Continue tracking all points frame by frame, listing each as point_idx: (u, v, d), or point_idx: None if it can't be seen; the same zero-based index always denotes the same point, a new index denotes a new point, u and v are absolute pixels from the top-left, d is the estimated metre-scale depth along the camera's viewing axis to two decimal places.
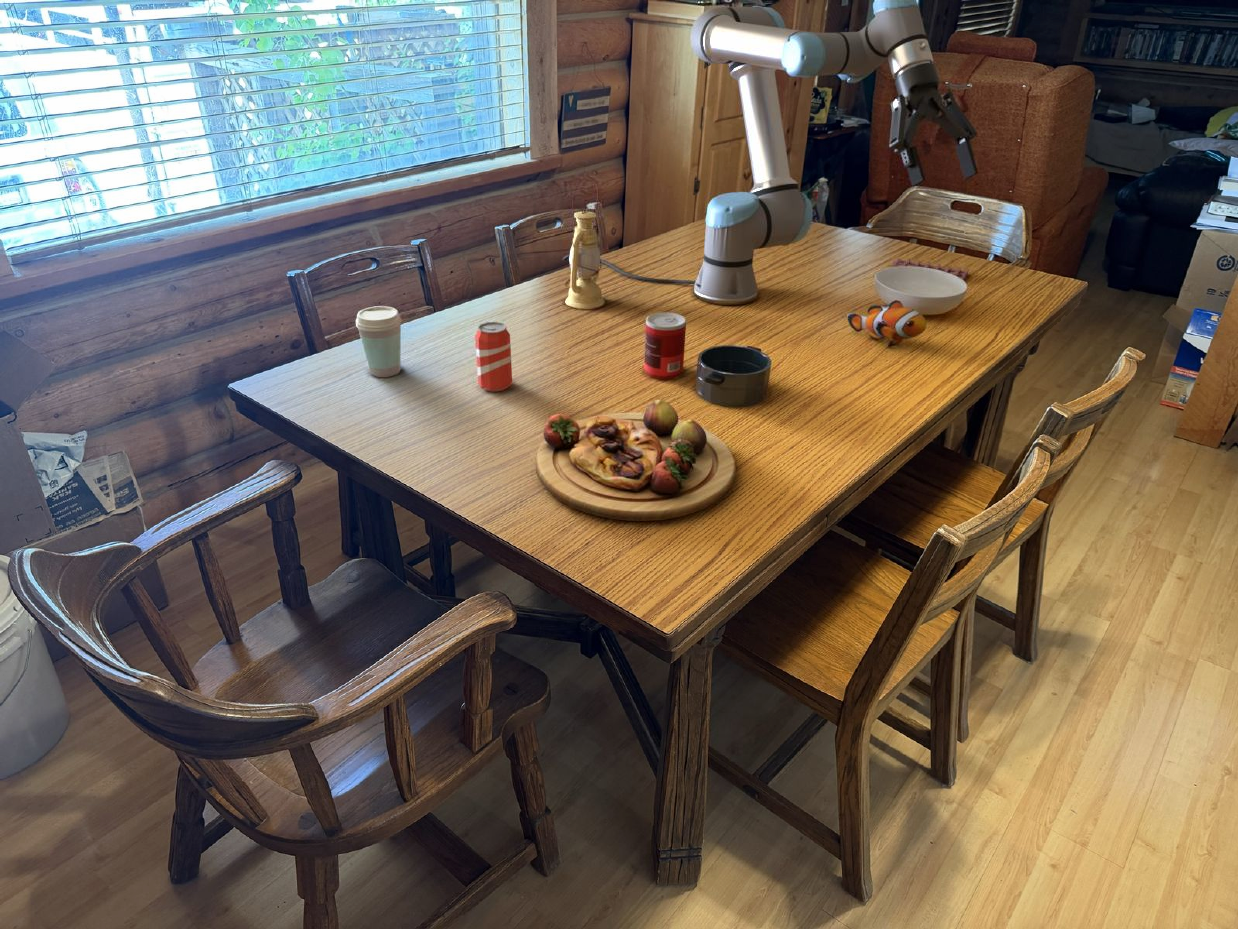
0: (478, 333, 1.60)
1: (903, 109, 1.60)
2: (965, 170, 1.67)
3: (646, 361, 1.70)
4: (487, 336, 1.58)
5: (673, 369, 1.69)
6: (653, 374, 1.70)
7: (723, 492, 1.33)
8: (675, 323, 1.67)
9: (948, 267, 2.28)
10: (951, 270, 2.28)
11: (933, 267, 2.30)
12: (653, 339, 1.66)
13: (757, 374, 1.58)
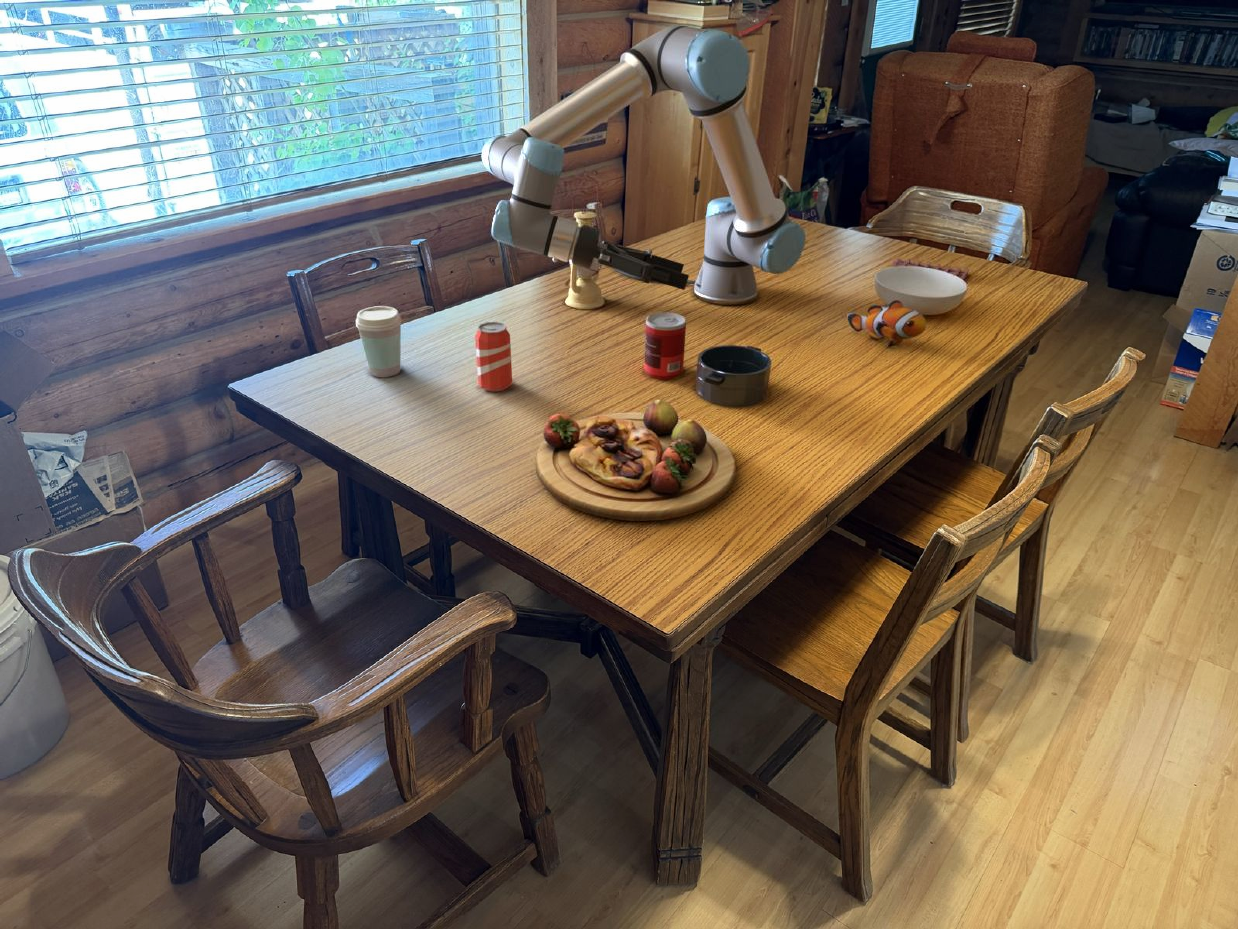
0: (478, 333, 1.60)
1: None
2: None
3: (646, 361, 1.70)
4: (487, 336, 1.58)
5: (673, 369, 1.69)
6: (653, 374, 1.70)
7: (723, 492, 1.33)
8: (675, 323, 1.67)
9: (948, 267, 2.28)
10: (951, 270, 2.28)
11: (933, 267, 2.30)
12: (653, 339, 1.66)
13: (757, 374, 1.58)
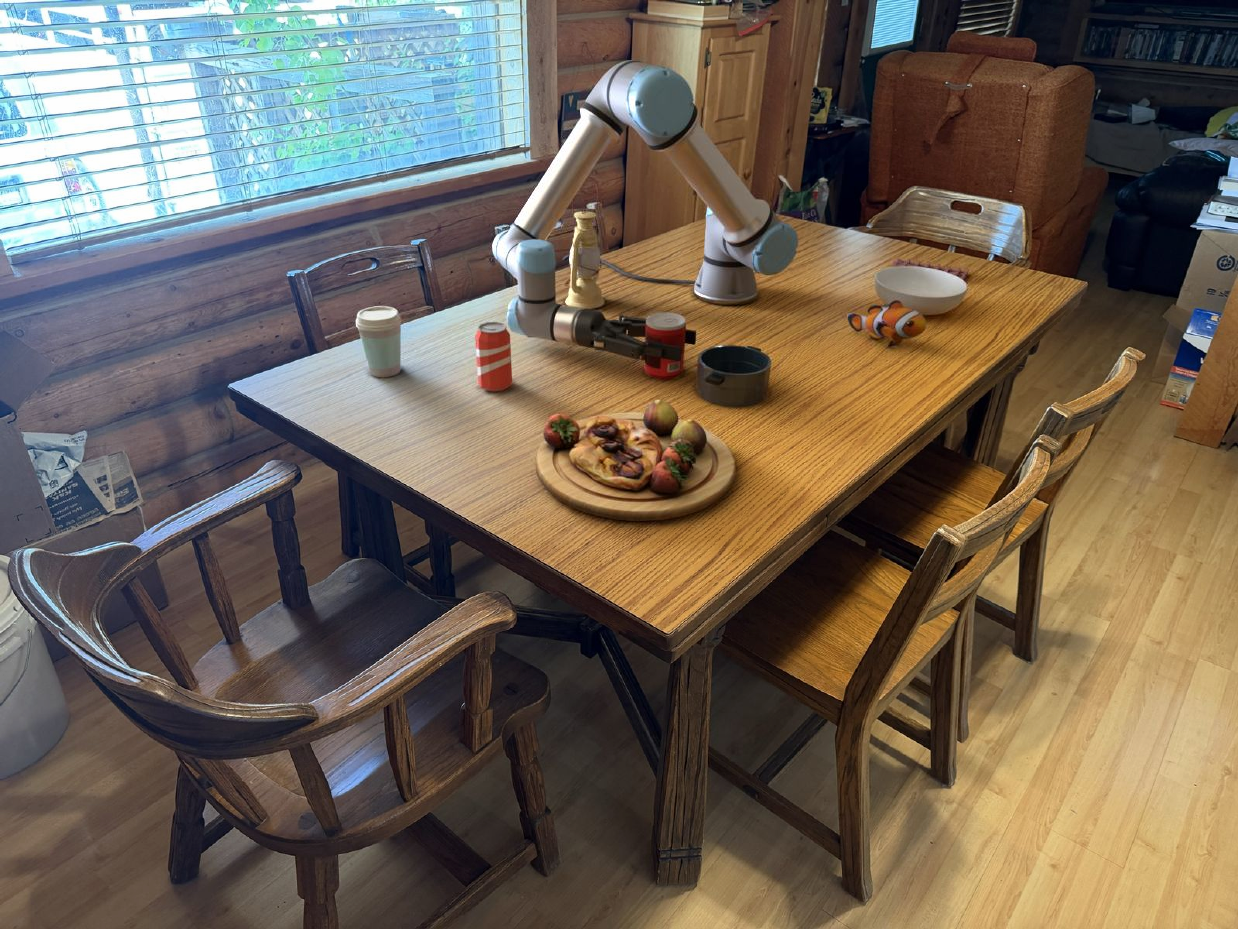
0: (478, 333, 1.60)
1: None
2: None
3: (646, 361, 1.70)
4: (487, 336, 1.58)
5: (673, 369, 1.69)
6: (653, 374, 1.70)
7: (723, 492, 1.33)
8: (675, 323, 1.67)
9: (948, 267, 2.28)
10: (951, 270, 2.28)
11: (933, 267, 2.30)
12: (653, 339, 1.66)
13: (757, 374, 1.58)
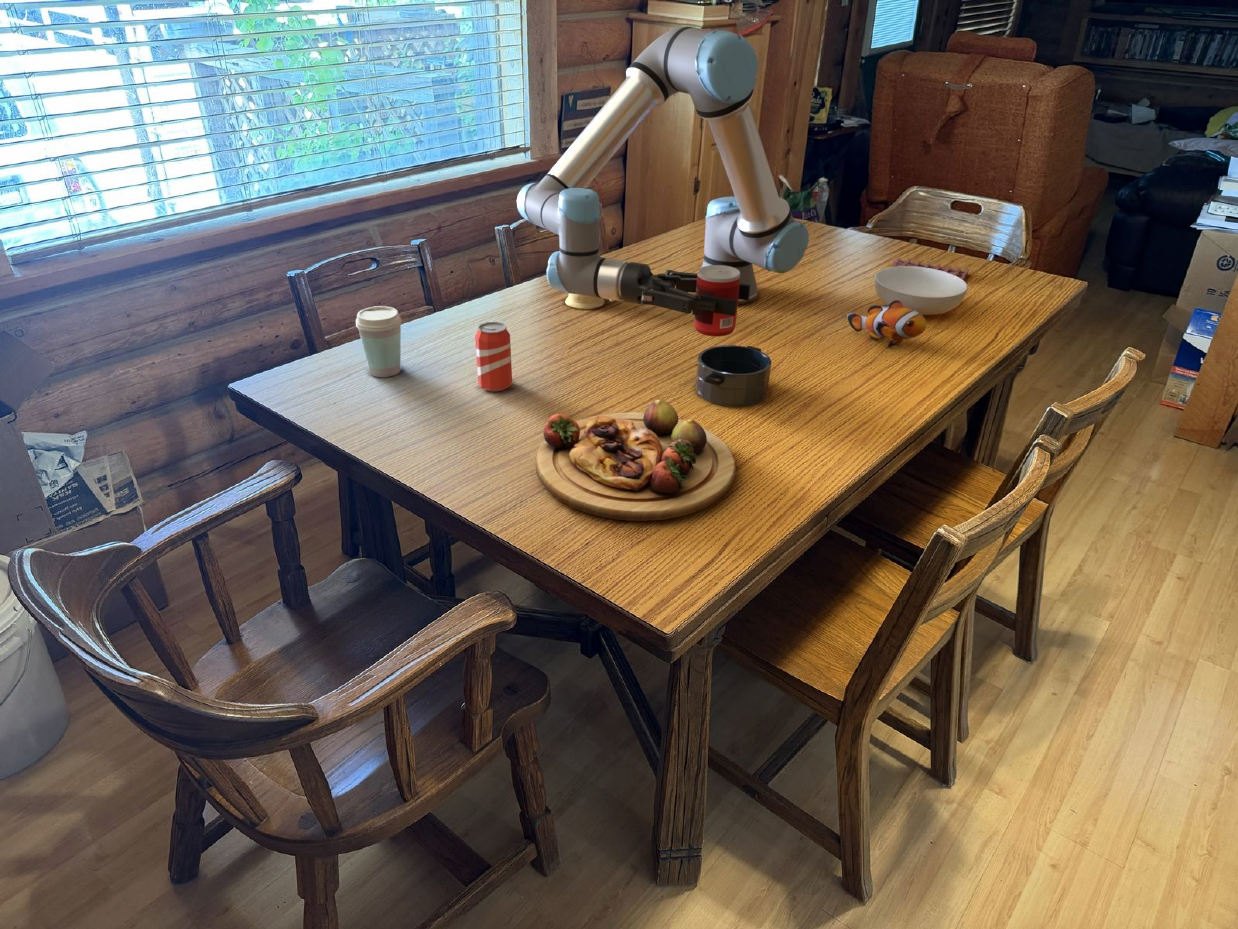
0: (478, 333, 1.60)
1: None
2: None
3: (697, 317, 1.60)
4: (487, 336, 1.58)
5: (725, 325, 1.58)
6: (704, 331, 1.59)
7: (723, 492, 1.33)
8: (729, 275, 1.56)
9: (948, 267, 2.28)
10: (951, 270, 2.28)
11: (933, 267, 2.30)
12: (705, 292, 1.56)
13: (757, 374, 1.58)
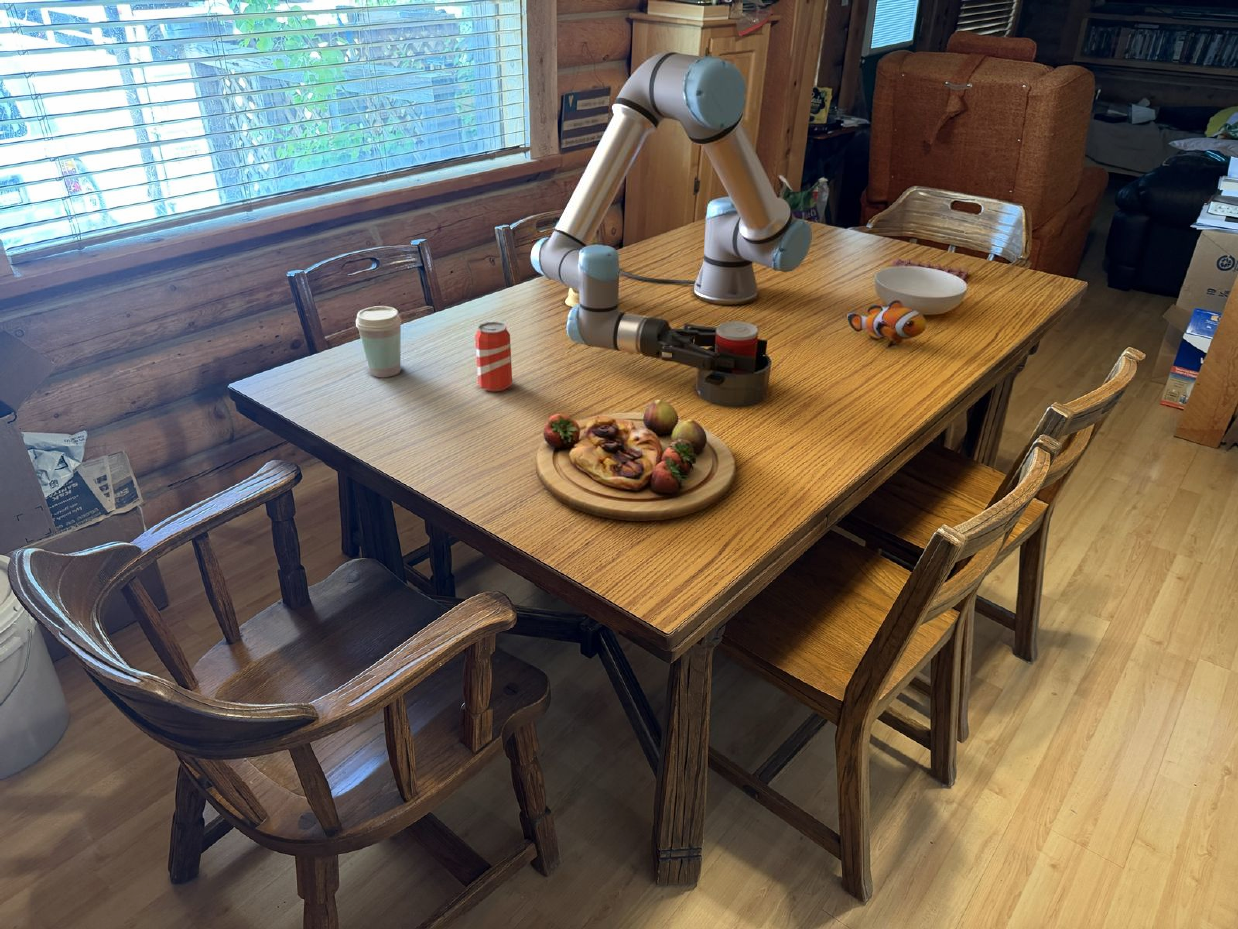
0: (478, 333, 1.60)
1: None
2: None
3: None
4: (487, 336, 1.58)
5: None
6: None
7: (723, 492, 1.33)
8: (747, 333, 1.59)
9: (948, 267, 2.28)
10: (951, 270, 2.28)
11: (933, 267, 2.30)
12: (724, 349, 1.59)
13: (757, 374, 1.58)
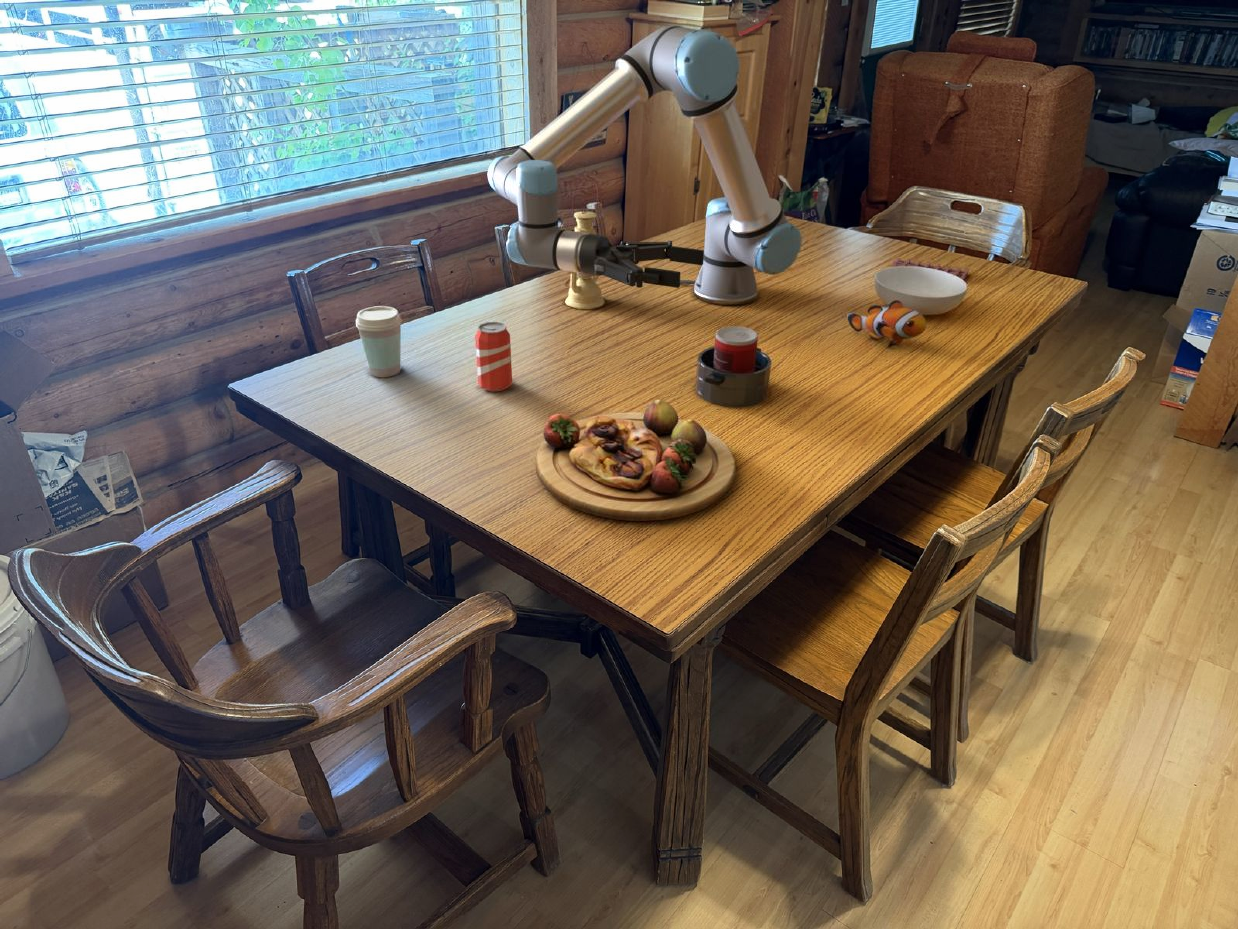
0: (478, 333, 1.60)
1: None
2: None
3: None
4: (487, 336, 1.58)
5: None
6: None
7: (723, 492, 1.33)
8: (747, 338, 1.60)
9: (948, 267, 2.28)
10: (951, 270, 2.28)
11: (933, 267, 2.30)
12: (724, 354, 1.59)
13: (757, 374, 1.58)
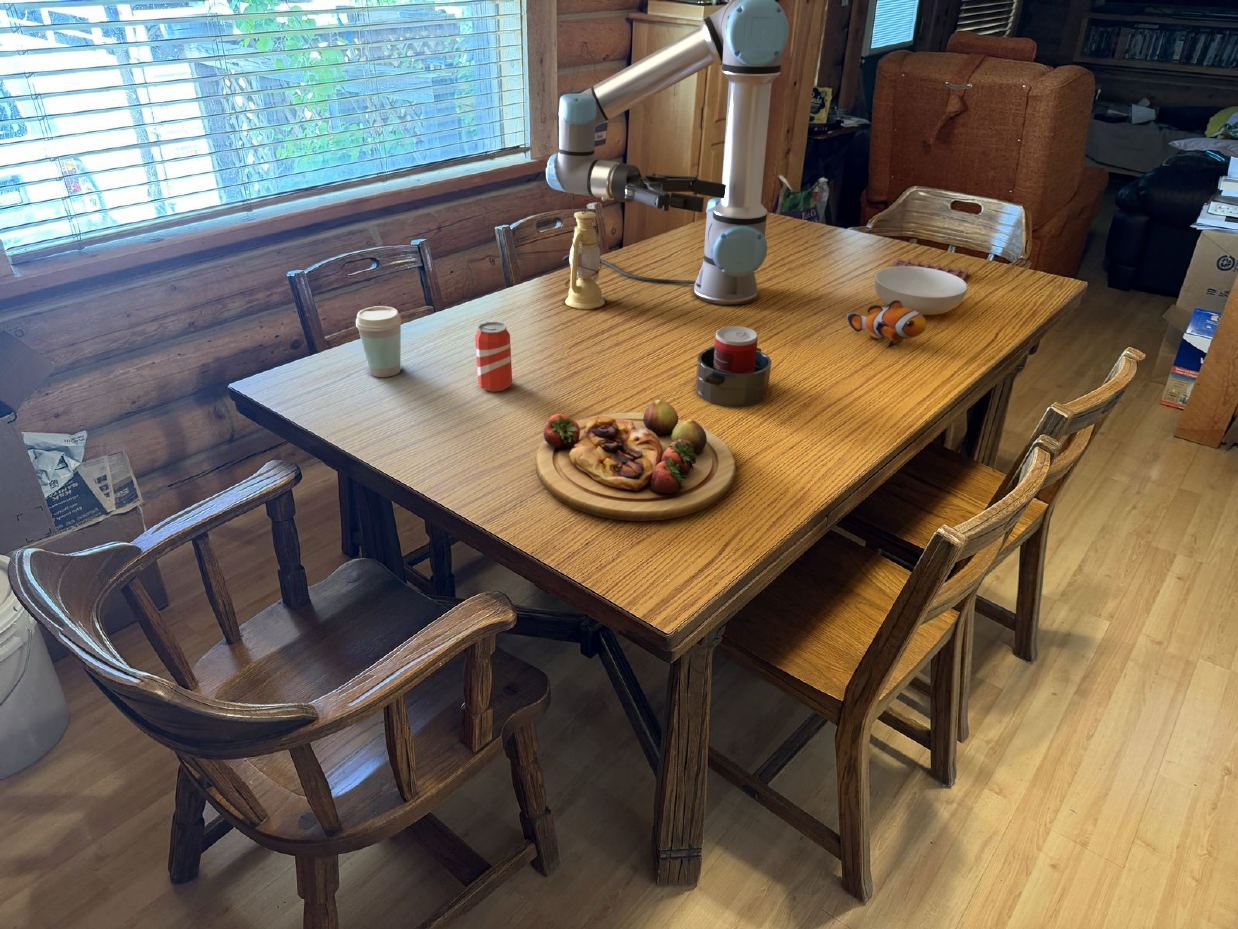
0: (478, 333, 1.60)
1: None
2: None
3: None
4: (487, 336, 1.58)
5: None
6: None
7: (723, 492, 1.33)
8: (747, 338, 1.60)
9: (948, 267, 2.28)
10: (951, 270, 2.28)
11: (933, 267, 2.30)
12: (724, 354, 1.59)
13: (757, 374, 1.58)
